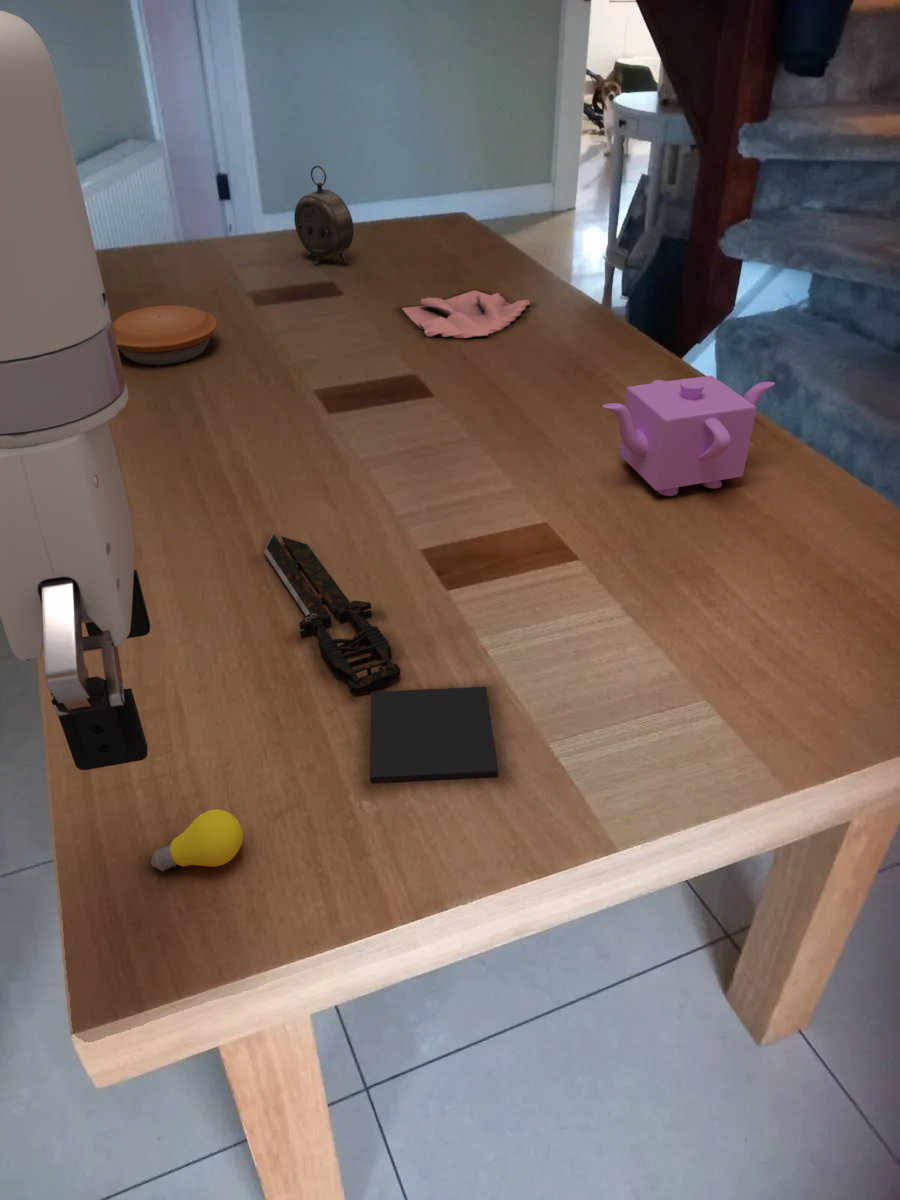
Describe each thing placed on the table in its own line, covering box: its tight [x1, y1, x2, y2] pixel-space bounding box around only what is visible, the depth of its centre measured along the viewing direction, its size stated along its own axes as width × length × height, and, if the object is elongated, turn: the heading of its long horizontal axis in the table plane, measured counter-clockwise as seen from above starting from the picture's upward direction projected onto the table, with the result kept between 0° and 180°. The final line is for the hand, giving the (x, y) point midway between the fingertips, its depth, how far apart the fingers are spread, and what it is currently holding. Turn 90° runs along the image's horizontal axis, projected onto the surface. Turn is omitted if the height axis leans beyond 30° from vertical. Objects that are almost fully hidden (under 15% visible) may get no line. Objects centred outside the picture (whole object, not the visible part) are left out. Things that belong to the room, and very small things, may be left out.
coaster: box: [369, 686, 499, 783], centre depth 68 cm, size 9×9×1 cm
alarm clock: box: [293, 165, 355, 266], centre depth 163 cm, size 11×5×16 cm, turn 53°
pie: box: [112, 304, 218, 366], centre depth 131 cm, size 15×16×5 cm
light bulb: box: [150, 809, 244, 872], centre depth 59 cm, size 3×6×4 cm, turn 110°
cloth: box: [401, 290, 531, 340], centre depth 143 cm, size 20×22×2 cm
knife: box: [263, 533, 401, 696], centre depth 81 cm, size 25×6×1 cm, turn 22°
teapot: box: [601, 375, 776, 497], centre depth 98 cm, size 15×13×11 cm
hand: (117, 693), depth 47 cm, fingers open, 9 cm apart
